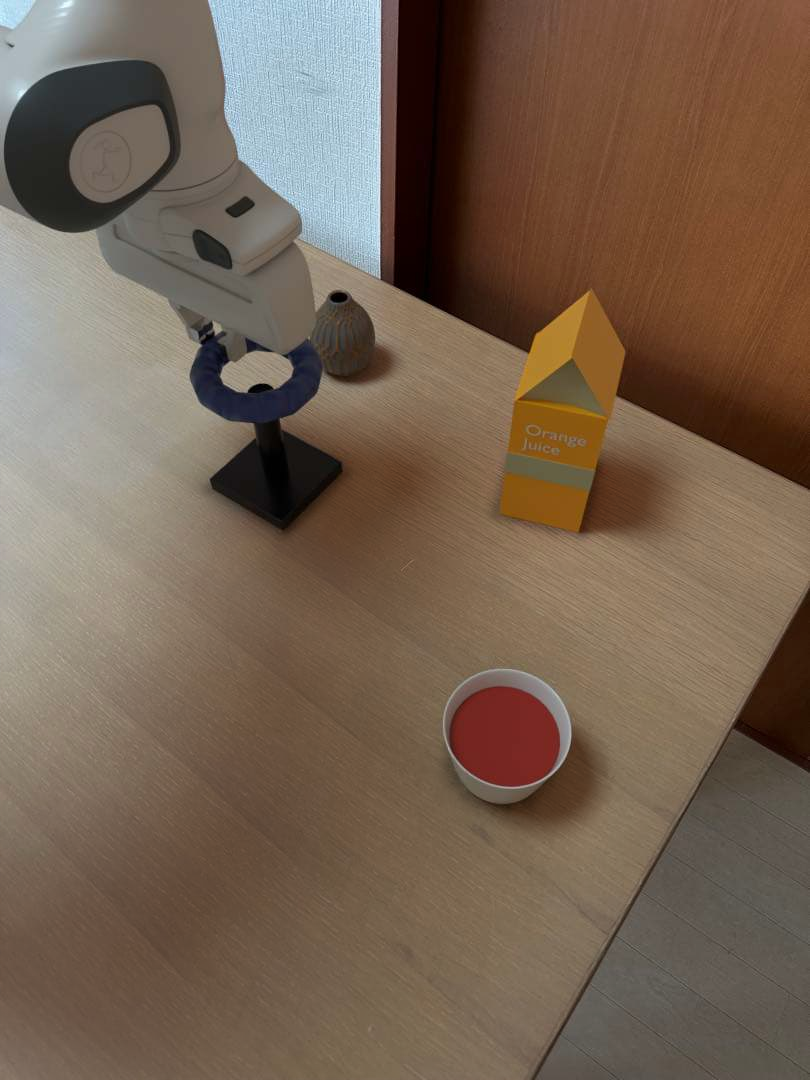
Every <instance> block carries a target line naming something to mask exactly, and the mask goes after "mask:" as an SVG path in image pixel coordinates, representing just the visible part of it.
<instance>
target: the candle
mask: <svg viewBox="0 0 810 1080" xmlns="http://www.w3.org/2000/svg"><path fill="white" fill-rule="evenodd" d="M443 712H444V713H443V717H442V734H443V738H444V742H445V746H446V748H447V751H448V753H449V756H450V759H451V761H452V765H453V767H454V769H455V772H456V774H457V776H458V778H459V780H460V781H461V783H462V784H463V786H464V787H465V788H466V789H467V790H468V791H469V792H470V793H471V794H472V795H474V796H476V798H479V799H481V800H483V801H484V802H485V801H486V802H488V803H491V804H498V805H509V804H513V803H517V802H520V801H523V800H525V799H526V798H528V797H530V796H531V795H532V794H534V793H535V792H536V791H537V790H538V789H539V788H540V787H541V786H542V785H543V784H544V783H545V782H546V781H548V780H549V779H550V778H551V777H552V776H554V774H555V773H556V772H557V771H558V770H559V769H560V767H562V765H563V763H564V761H565V760H566V758H567V756H568V753H569V750H570V748H571V743H572V723H571V718H570V715H569V712H568V710H567V708H566V705H565V704H564V702H563V700H562V699H561V697H560V695H558V693H556V691H555V690H554V689H553V688H552V686H550V685H548V684H547V683H546V682H545V681H543V680H542V679H540V678H538V677H536V676H535V675H532V674H530V673H527V672H525V671H521V670H517V669H512V668H494V669H493V668H492V669H488V670H485V671H484V670H483V671H481V672H479V673H476V674H474V675H471V676H470V677H468V678H467V679H465V680H464V681H463V682H461V683H460V684H459V685H458V686H457V687H456V688H455V690H454V691H453V692H452V694H451V695H450V696H449V698H448V700H447V703H446V705H445V708H444V711H443Z"/></svg>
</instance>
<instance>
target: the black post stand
mask: <svg viewBox="0 0 810 1080" xmlns="http://www.w3.org/2000/svg"><path fill="white" fill-rule="evenodd" d="M273 389H275V388H274V387H273V386H272V385H271V384H269V383H265V382H264V383H263V382H261V383H256V384H253V385H252V386H250V387H249V388H248V389H247V392H246V393H256V394H259V393H262V392H266V391H269V390H273ZM252 425H253V430H254V435H255V438H254V439H252V441H250V442H249V443H248V444H247V445H245V446H244V447H243V448H242V449H241V450H239V452H237V454H235V455H234V456H233V457H232V458H231V459H230V460H229V461H228V462H226V464H224V465H223V466H222V467H221V468H220V469H219V470H218V471H217V472H216V473H215V474H213V475H212V476H211V477H209V482H210V485H211V489H212V490H213V491H215V492H216V493H218V494H220V495H222V496H223V497H225V498H227V499H228V500H230V501H231V502H234V503H235V504H236V505H238V506H240V507H241V508H244V509H245V510H246V511H248V512H250V513H252V514H253V515H255V516H257V517H259V518H260V519H262V520H264V521H265V522H267V523H269V524H270V525H272V526H274V527H276V528H277V529H279V530H281V531H282V532H285V530H286V529H288V527H289V526H291V525H292V523H293V522H295V520H297V518H298V517H300V515H302V514H303V512H304V511H305V510H307V509H308V507H309V506H310V505H312V503H314V501H315V500H317V498H318V497H319V496H320V495H322V493H323V492H324V491H325V490H326V489H327V488H329V486H331V484H332V483H333V482H334V481H335V480H336V479H337V478H338V477H339V476H340V475H341V474H342V473H344V469H343V468H344V467H343V461H342V460H340V459H338V458H337V457H334V456H333V455H331V454H329V453H327V452H325V451H323V450H322V449H320V448H317V447H316V446H314V445H313V444H311V443H308V442H307V441H304V440H303V439H300V438H299V437H297V436H296V435H294V434H291V433H289V432H287V431H286V430H284V429H283V428H282V424H281V419H277V420H274V421H271V422H267V423H264V424H255V423H252Z"/></svg>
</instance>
